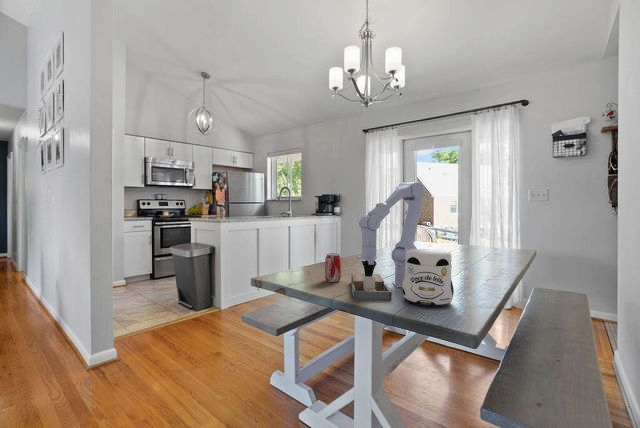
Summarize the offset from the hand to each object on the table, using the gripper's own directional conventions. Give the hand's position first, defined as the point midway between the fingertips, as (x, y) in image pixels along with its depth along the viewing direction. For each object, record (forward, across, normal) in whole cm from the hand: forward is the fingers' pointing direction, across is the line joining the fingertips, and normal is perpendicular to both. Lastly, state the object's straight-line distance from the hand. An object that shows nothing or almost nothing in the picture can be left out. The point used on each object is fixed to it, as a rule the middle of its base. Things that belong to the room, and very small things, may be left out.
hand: (368, 279), depth 129 cm
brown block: (+5, -6, 0) cm, 7 cm away
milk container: (+5, +14, +19) cm, 24 cm away
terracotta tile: (+3, +5, 0) cm, 6 cm away
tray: (+5, +6, 0) cm, 8 cm away
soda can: (+5, -15, -14) cm, 21 cm away
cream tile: (+1, +1, 0) cm, 2 cm away
